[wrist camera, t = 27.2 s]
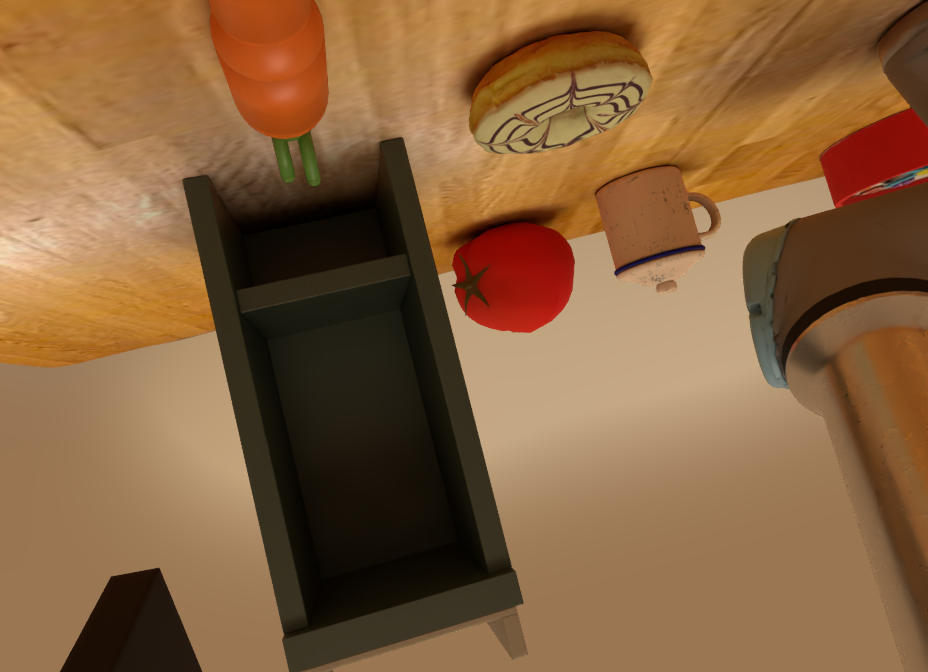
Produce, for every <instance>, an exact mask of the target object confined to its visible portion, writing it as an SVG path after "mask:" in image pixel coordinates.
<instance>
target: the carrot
mask: <svg viewBox="0 0 928 672" xmlns="http://www.w3.org/2000/svg"><path fill="white" fill-rule="evenodd" d="M208 1H209V4H210V7H211V15H210V28H211V35H212V40H213V43H214V46H215V49H216V52H217V55H218V57H219V60H220V63H221V66H222V68H223V71H224V74H225V77H226V79H227V82H228V85H229V88H230V90H231V93H232V96H233V99H234V101H235V104H236V106H237V109H238V111H239V112H240V114H241V115H242V117H243V118H244V120H245V121H246V122H247V123H248V124H249V125H250V126H251V127H253V128H254V129H255V130H257V131H258V132H260V133H262V134H264V135H266V136H269V137H271V138H272V142H273V146H274V150H275V154H276V158H277V162H278V166H279V170H280V174H281V178H282V180H283V181H284V182H286V183H291V182H293V181H294V179H295V172H294V168H293V163H292V159H291V155H290V151H289V146H288V142H287V141H294V140H298V144H299V149H300V153H301V157H302V162H303V166H304V170H305V174H306V179H307V182H308V184H309V185H311V186H317V185H319V184H320V182H321V177H320V173H319V168H318V164H317V159H316V155H315V151H314V146H313V142H312V137H311V133H310V130H311V129H312V128H314V127H315V126H316V124H317V123H318V122H319V121H320V120H321V118H322V116H323V115H324V113H325V110H326V107H327V103H328V95H329V90H328V77H327V64H326V52H325V39H324V27H323V21H322V17H321V14H320V11H319V8H318V6H317V4H316V2H315V1H314V0H208Z"/></svg>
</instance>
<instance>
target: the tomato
mask: <svg viewBox="0 0 928 672" xmlns="http://www.w3.org/2000/svg"><path fill="white" fill-rule="evenodd" d="M574 264H575V260H574V256H573V252H572V249H571V246H570V245H569V243H568V242H567V241H566V239H565V238H564V237H563V236H562V235H561V234H560V233H559V232H557V231H555V230H553V229H551V228H547V227H543V226H539V225H535V224H531V223H528V222H522V223H510V224H505V225H501V226H498V227H495V228H492V229H489V230H486V231H485V232H484V233H483V234H481V235H480V236H479V237H477V238H475V239H473V240H471V241H469V242H468V243H466V244H465V245H463V246H462V247H460V248H459V249H457V250H456V252H455V254H454V259H453V264H452V266H453V269H454V271H455V273H456V276H457V281H456V284H454V285H452V286H454V287H455V294H456V297H457V299H458V302H459V304H460V306H461V308H462V309H463V311H464V312H465V313H466V315H468V317H469V318H471V319H472V320H474V321H475V322H477V323H478V324H480V325H483V326H486V327H488V328H492V329H496V330H500V331H512V332H525V333H531V332H533V331H534V330H536V329H538V328H540V327H542V326H544V325H545V324H547V323H549V322H551V321H552V320H553V319H554V318H555V317H556V316H557V315H558V314H559V313H560V312H561V311H562V310H563V309H564V307H565V306H566V304H567V302H568V300H569V298H570V295H571V292H572V288H573V277H574Z"/></svg>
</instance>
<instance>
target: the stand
mask: <svg viewBox="0 0 928 672" xmlns="http://www.w3.org/2000/svg"><path fill="white" fill-rule="evenodd" d="M183 185H184V190H185V194H186V199H187V203H188V208H189V212H190V217H191V221H192V225H193V230H194V234H195V239H196V243H197V248H198V252H199V257H200V261H201V266H202V270H203V275H204V279H205V284H206V288H207V293H208V297H209V302H210V306H211V311H212V315H213V320H214V324H215V329H216V333H217V337H218V342H219V346H220V351H221V355H222V360H223V364H224V369H225V373H226V377H227V382H228V386H229V391H230V395H231V400H232V405H233V409H234V414H235V418H236V423H237V427H238V431H239V436H240V441H241V445H242V449H243V454H244V458H245V463H246V467H247V472H248V476H249V480H250V485H251V490H252V494H253V499H254V503H255V508H256V512H257V516H258V521H259V526H260V530H261V535H262V539H263V543H264V548H265V553H266V557H267V561H268V566H269V570H270V575H271V579H272V584H273V588H274V593H275V597H276V602H277V606H278V611H279V615H280V620H281V624H282V629H283V633H284V637H283V639H282V641H283V646H284V650H285V655H286V659H287V663H288V668H289V672H333V669H335V668H338V667H341V666H345V665H348V664H351V663H355V662H358V661H361V660H364V659H368V658H371V657H374V656H377V655H381V654H384V653H388V652H391V651H394V650H397V649H400V648H404V647H407V646H410V645H414V644H417V643H420V642H424V641H427V640H430V639H434V638H437V637H440V636H443V635H446V634H450V633H453V632H456V631H459V630H463V629H466V628H470V627H473V626H476V625H480V624H483V623H486V622H487V623H488V625H489V626H490V628H491V629H492V631H493V632H494V633H495V635H496V636H497V638H498V639H499V641H500V642H501V644H502V645H503V647H504V648H505V650H506V651H507V652H508V654H509V655H510V657H511V658H512V659H517V658H520V657H523V656H526V655H528V653H527V648H526V644H525V640H524V636H523V633H522V629H521V625H520V621H519V617H518V614H517V609H516V606H518V605H521V604H523V599H522V595H521V591H520V587H519V583H518V579H517V575H516V571H515V570H514V569H512V568H511V567H512V566H511V562H510V558H509V554H508V550H507V546H506V542H505V538H504V534H503V530H502V526H501V523H500V518H499V514H498V510H497V506H496V502H495V499H494V495H493V491H492V487H491V483H490V479H489V475H488V471H487V467H486V463H485V459H484V455H483V451H482V447H481V444H480V439H479V435H478V431H477V428H476V424H475V420H474V416H473V412H472V408H471V404H470V400H469V396H468V392H467V388H466V384H465V380H464V376H463V373H462V368H461V364H460V360H459V356H458V352H457V349H456V345H455V341H454V337H453V333H452V329H451V325H450V321H449V317H448V313H447V309H446V305H445V301H444V297H443V294H442V289H441V285H440V281H439V278H438V273H437V270H436V266H435V262H434V258H433V254H432V250H431V246H430V242H429V238H428V234H427V230H426V226H425V222H424V218H423V214H422V210H421V206H420V202H419V198H418V195H417V191H416V187H415V183H414V179H413V175H412V171H411V167H410V163H409V159H408V155H407V151H406V147H405V143H404V139H403V138H399V139H394V140H389V141H383V142H381V146H380V159H379V173H378V186H377V199H376V209H371V210H366V211H361V212H356V213H351V214H346V215H341V216H336V217H332V218H327V219H322V220H317V221H312V222H307V223H302V224H297V225H293V226H288V227H283V228H278V229H273V230H268V231H263V232H259V233H254V234H249V235H244V236H242V235H241V233H240V232H239V230H238V228H237V227H236V225H235V223H234V221H233V220H232V218H231V216H230V215H229V213H228V211H227V209H226V208H225V206H224V204H223V203H222V201H221V199H220V197H219V196H218V194H217V192H216V191H215V189H214V187H213V185H212V184H211V182H210V180H209V179H208V177H207V176H200V177H195V178H190V179H185V180H183Z"/></svg>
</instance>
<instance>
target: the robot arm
mask: <svg viewBox="0 0 928 672" xmlns="http://www.w3.org/2000/svg"><path fill="white" fill-rule="evenodd" d="M877 52H878V56H879V59H880V62H881V65H882V68H883V71H884V73H885V74H886V76H887V77H888V79H889V81H890V82H891V83H892V84H893V86H894V87H895V88H896V89H897V90H898V92H899V93H900V94H901V95H902V97H903V98H904V99H905V100H906V101H907V103H908V104H909V105H910V106H911V108H912V109H913V110H914V111H915V112H916V114H917V115H918V116H919V117H920V119H921V120H922V121H923V122H924V124H925V125H926V126H927V127H928V1H926V2H925V3H923V4H922V5H920V6H919V7H917V8H916V9H914V10H913V11H912V12H910V13H909V14H907V15H906V16H905V17H903V18H902V19H901V20H900V21H898V22H897V23H896V24H895V25H894V26H893V27H892V28H891V29H890V30H889V31H888V32H887V33H886V34H885V35H884V36H883V37H882V39H881V40H880V42H879V43H878V46H877ZM743 283H744V292H745V299H746V304H747V308H748V311H749V313H750V314H749V319H750V328H751V333H752V338H753V342H754V346H755V350H756V354H757V357H758V361H759V364H760V367H761V370H762V372H763V375H764V377H765V379H766V381H767V382H768V383H769V384H770V385H771V386H773V387H775V388H787V389H790V391H791V392H792V394H793V395H794V397H795V398H796V399H797V400H798V401H799V403H800V404H802V405H803V406H804V407H805V408H807V409H809V410H810V411H812V412H814V413H816V414H818V415H820V416H823V417H824V420H825V423H826V426H827V430H828V433H829V436H830V439H831V442H832V445H833V448H834V451H835V455H836V458H837V461H838V464H839V467H840V470H841V473H842V477H843V480H844V483H845V486H846V489H847V492H848V495H849V498H850V502H851V505H852V508H853V511H854V514H855V517H856V520H857V524H858V526H859V530H860V533H861V536H862V539H863V542H864V546H865V549H866V552H867V555H868V558H869V561H870V564H871V567H872V571H873V574H874V577H875V580H876V583H877V586H878V589H879V592H880V596H881V599H882V602H883V605H884V608H885V611H886V614H887V618H888V621H889V624H890V627H891V630H892V633H893V636H894V640H895V643H896V646H897V649H898V652H899V655H900V659H901V662H902V665H903V668H904V671H905V672H928V181H927V182H925V183H922V184H918V185H915V186H911V187H908V188H904V189H901V190H897V191H894V192H890V193H887V194H883V195H880V196H876V197H873V198H870V199H866V200H863V201H859V202H856V203H852V204H849V205H845V206H842V207H838V208H835V209H832V210H828V211H824V212H821V213H818V214H814V215H811V216H807V217H804V218H797V219H793V220H792V221H790V222H789V223H787V224H786V225H784V226H781V227H778V228H775V229H773V230H770V231H767V232H764V233H762V234H759V235H757V236H756V237H754V238H753V239H752V240H751V241H750V242H749V244H748V245H747V247H746V249H745V252H744V256H743ZM60 672H202V670H201V668H200V665H199V663H198V660H197V658H196V655H195V653H194V651H193V648H192V646H191V643H190V641H189V639H188V636H187V634H186V631H185V629H184V626H183V624H182V621H181V619H180V617H179V614H178V612H177V609H176V607H175V605H174V602H173V600H172V597H171V595H170V592H169V590H168V588H167V585H166V583H165V581H164V578H163V575H162V573H161V571H160V568H155V569H150V570H144V571H139V572H134V573H128V574H123V575H117V576H112V577H111V578H110V580H109V582H108V583H107V585H106V587H105V589H104V591H103V593H102V595H101V596H100V598H99V600H98V602H97V604H96V606H95V608H94V609H93V611H92V613H91V615H90V617H89V619H88V621H87V622H86V624H85V626H84V628H83V630H82V632H81V634H80V636H79V638H78V639H77V641H76V643H75V645H74V647H73V649H72V651H71V652H70V654H69V656H68V658H67V660H66V662H65V664H64V666H63V667H62V669H61V671H60Z"/></svg>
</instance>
